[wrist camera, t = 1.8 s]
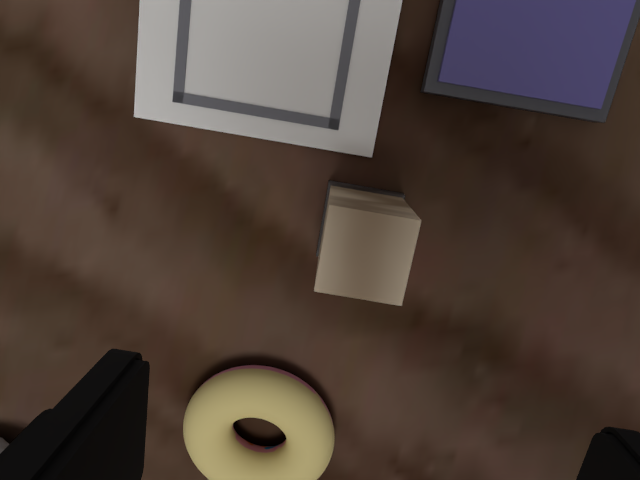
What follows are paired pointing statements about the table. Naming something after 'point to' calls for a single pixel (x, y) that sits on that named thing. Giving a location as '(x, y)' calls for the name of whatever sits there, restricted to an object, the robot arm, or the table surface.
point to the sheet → (268, 68)
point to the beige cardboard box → (365, 243)
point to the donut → (265, 403)
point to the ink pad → (532, 54)
